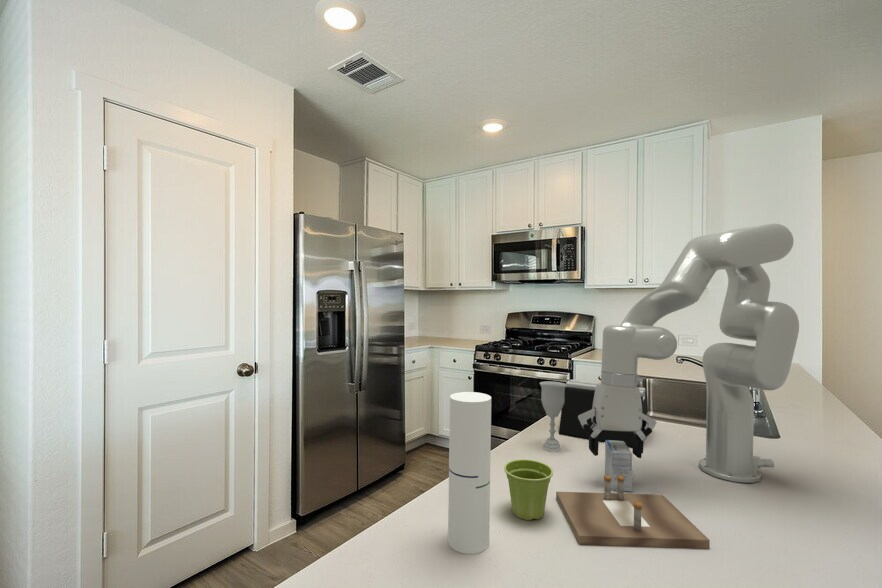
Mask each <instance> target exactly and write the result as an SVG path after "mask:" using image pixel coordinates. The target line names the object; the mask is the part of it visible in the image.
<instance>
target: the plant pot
mask: <svg viewBox="0 0 882 588" xmlns="http://www.w3.org/2000/svg"><path fill="white" fill-rule="evenodd" d="M503 470H504V472H505V473H506V479H507V480H508V487H509V497H510V503H511V504H510V505H511V511H512V512H513V514H514V515H515V516H516V517H517V518H519V519H522V520H525V521H531V520H533V519H534V520H540V519H541V518H543V517H544V515H545V509H546V501H547V495H548V489H549V484H550V482H551V478H552V477H553V475H554V470H553V469H552V466H550V465H548V464H546V463H544V462H542V461H538V460H533V459H526V458H525V459H523V458H522V459H514V460H511V461H508V462H506V463H505V464H504V466H503Z"/></svg>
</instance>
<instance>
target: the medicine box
mask: <svg viewBox="0 0 882 588" xmlns="http://www.w3.org/2000/svg"><path fill="white" fill-rule="evenodd" d="M604 445H605V446H604V451H605V452H604V453H605V454H604V475H609V476H611V491H616V492H617V476H618V475H621V476H624V492H626V493H627V492H628V493H632V492H633V452H632V451H631V450H630V448H629V447H627V445H626V444H625V442H624V441H615V440H606V441H605V443H604Z"/></svg>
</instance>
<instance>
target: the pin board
mask: <svg viewBox="0 0 882 588" xmlns="http://www.w3.org/2000/svg"><path fill="white" fill-rule="evenodd" d="M603 479H604V487H603V488H604V490H603V492H587V491H585V492H584V491H583V492H582V491H581V492H580V491H556V493H555V494H556V495H555V500H556V501H557V504H558V506H559V507H560V509H561V511H562V513H563V516H564V517H565V519H566V521H567V523H568V525H569V527H570V529H571V532H572V533H573V536H574V538H575V539H576V542H577V543H578V545H580V546H581V545H583V546H612V547H614V546H615V547H617V546H618V547H638V548H639V547H643V548H645V547H646V548H673V549H674V548H675V549H677V548H678V549H705V550H709V549H710V546H711V545H710V541H711V540H710V539H709V538H708V536H706V535H705V534H704V533H703V532H702V531H701V530H700V529H699V528H698V527H697V526H696V525H695V524H693V522H691V520H690V519H688V518H687V517H686V516H685V515H684V513H683V512H682V511H680V509H678V508H677V507H676V506H675V505H674V504H672V502H671V501H670V500H669V499H668V498H667V497H666V496H664V495H663V494H655V493H654V494H652V493H650V494H648V493H624V492H625V491H624V476H621V475H618V476H617V491H616V492H615V493H614V492H611V491H612V488H611V476H609V475H605V474H604V476H603Z"/></svg>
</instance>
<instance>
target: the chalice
mask: <svg viewBox="0 0 882 588" xmlns="http://www.w3.org/2000/svg"><path fill="white" fill-rule="evenodd" d="M539 385H540V388H541V394H540V395H541V398H540V399H541V404H542V407H543V409H544V412H545V414H546V415H547V417H549V418H550V422H549V426H550V429H549V430H548V431H549V433H550V436H549V438H546V440H545V442H544V443H543V444H544V445H543V446H542V449H543V450H544V451H547V452H550V453H551V452H552V453H554V452H557V453H558V452H561V451H562V447H561V444H560V442H559V440H557V439H556V437H555V433H556V429H555V426H556V423H555V418H558V417H559V415H560V414H561V410H562V407H563V405H564V391H565V387H566V383H564V382H559V381H548V380H547V381H540V382H539Z"/></svg>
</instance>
